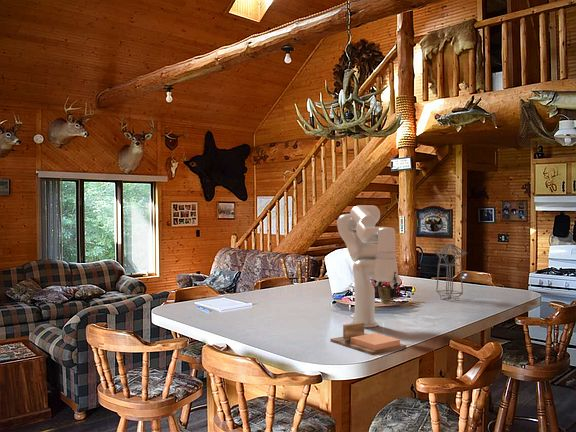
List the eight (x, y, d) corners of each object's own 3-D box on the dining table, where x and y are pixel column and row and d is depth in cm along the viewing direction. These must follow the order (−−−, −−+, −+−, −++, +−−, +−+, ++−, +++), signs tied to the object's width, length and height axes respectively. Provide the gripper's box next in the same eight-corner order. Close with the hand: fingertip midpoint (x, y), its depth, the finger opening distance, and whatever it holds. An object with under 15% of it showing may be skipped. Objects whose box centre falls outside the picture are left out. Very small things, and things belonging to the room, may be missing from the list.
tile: (374, 344, 202) (374, 350, 202) (399, 339, 210) (399, 345, 210) (350, 337, 213) (350, 343, 213) (375, 332, 221) (375, 338, 221)
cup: (392, 302, 231) (392, 284, 231) (397, 305, 224) (397, 286, 224) (376, 302, 230) (376, 284, 230) (379, 305, 223) (380, 286, 223)
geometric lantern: (431, 298, 328) (432, 243, 328) (450, 297, 334) (451, 243, 335) (448, 302, 313) (449, 244, 314) (468, 301, 320) (469, 244, 320)
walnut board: (330, 341, 220) (330, 324, 220) (363, 335, 231) (363, 319, 231) (372, 354, 199) (372, 336, 199) (406, 347, 210) (406, 330, 210)
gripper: (366, 255, 232) (366, 294, 232) (395, 257, 218) (395, 299, 218) (378, 254, 236) (378, 293, 236) (407, 256, 222) (407, 298, 222)
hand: (386, 296), depth 227 cm, fingers closed on cup, 7 cm apart
